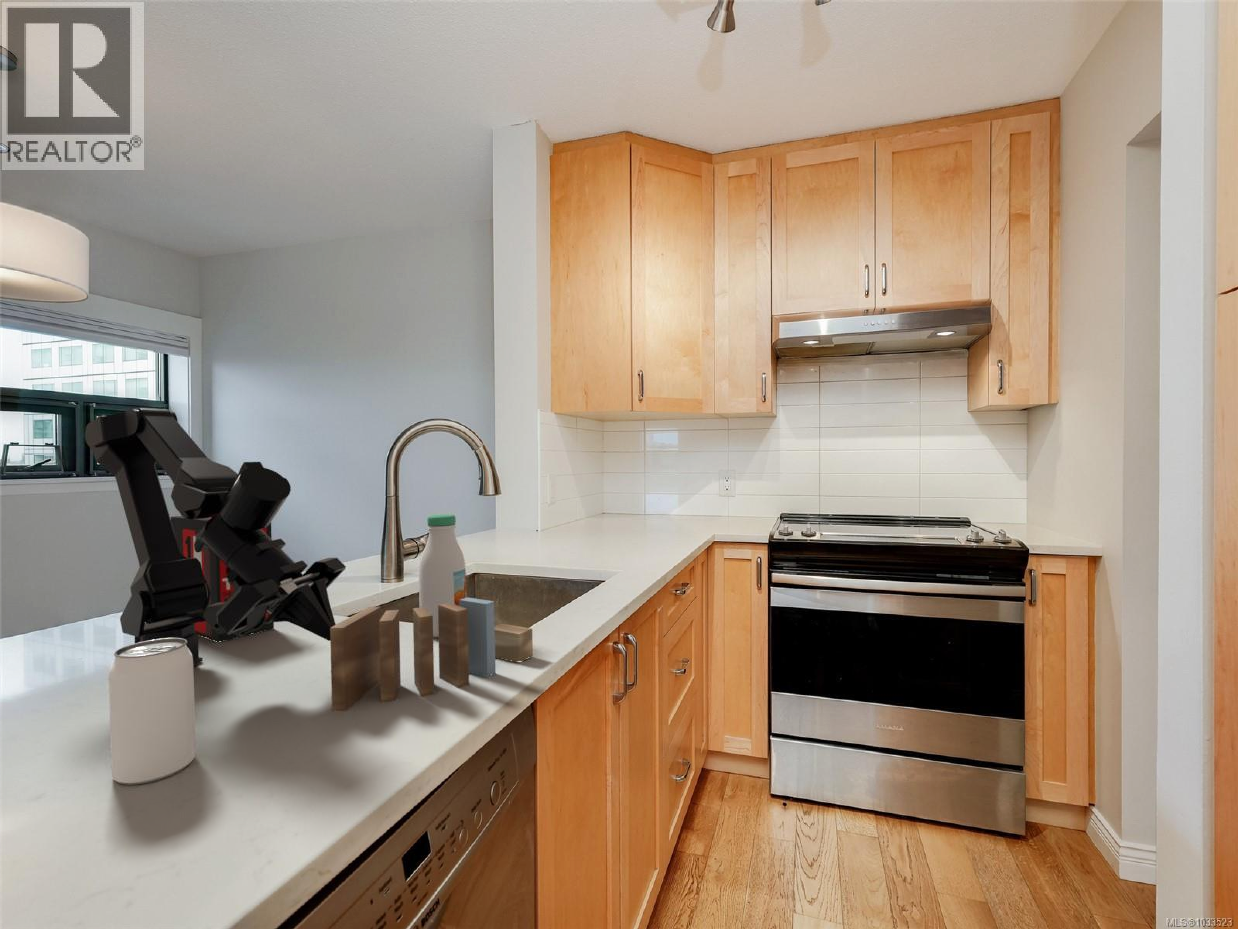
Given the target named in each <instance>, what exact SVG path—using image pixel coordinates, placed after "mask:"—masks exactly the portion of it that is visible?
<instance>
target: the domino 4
mask: <svg viewBox="0 0 1238 929" xmlns="http://www.w3.org/2000/svg"><path fill="white" fill-rule="evenodd" d="M438 629H439V637H438V670H439V673H438V674H439V675H438V676H439V679H440V680H442V681H445V682H446V683H448V684H450V685H451V686H454V687H455V688H457V689H459V688H462V687H465V686H469V685H470V680H469V679H470V673H469V658H468V609H466V608H463V607H460V606H457V605H455V604H452V603H444V604H439V605H438Z"/></svg>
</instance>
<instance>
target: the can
mask: <svg viewBox="0 0 1238 929" xmlns="http://www.w3.org/2000/svg"><path fill="white" fill-rule="evenodd" d="M186 644H187V640H186V639H182V638H163V639H155V640H149V641H144V642H139V643H135V642H134V643H132V644H129V645H126V646H123V647H121V648H117V650H116V651H114V653H113V656H114V659H113V662H112V663H111V665H110V667H109V670H108V694H109V697H108V698H109V731H110V760H111V777H112V779H113V780H114V781H116V782H117V783H119V784H120V785H124V786H138V785H144V784H150V783H154V782H157V781H160V780H163V779H166V778H169V777H172V776H174V775H176V774H178V773H180V772H181V771H183V770H185V769H186V768H187V767H189V765H190V764H191V763H192V761H193V760H194V759H195V757H196V717H195V716H196V713H195V711H196V710H195V709H196V708H195V680H194V677H195V676H194V675H195V674H194V666H193V656H192V653H191V652H190V650H189V649H188V647H187V645H186Z"/></svg>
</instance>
